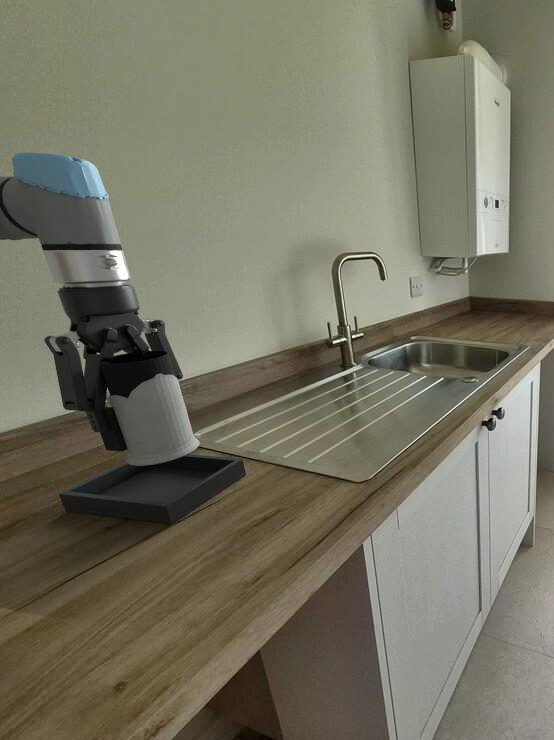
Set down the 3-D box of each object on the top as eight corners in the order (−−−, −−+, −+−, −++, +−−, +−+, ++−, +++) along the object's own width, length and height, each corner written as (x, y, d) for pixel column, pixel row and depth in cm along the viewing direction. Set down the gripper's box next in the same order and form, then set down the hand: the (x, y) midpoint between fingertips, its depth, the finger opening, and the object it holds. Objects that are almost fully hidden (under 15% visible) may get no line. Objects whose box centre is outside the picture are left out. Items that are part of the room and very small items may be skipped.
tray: (65, 511, 61) (58, 493, 60) (155, 465, 73) (150, 450, 72) (171, 524, 58) (165, 506, 57) (246, 474, 70) (242, 458, 69)
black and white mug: (153, 469, 58) (120, 367, 53) (87, 455, 62) (50, 359, 57) (213, 442, 66) (188, 351, 61) (150, 431, 70) (122, 345, 65)
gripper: (20, 292, 45) (90, 473, 52) (187, 279, 64) (221, 413, 71) (-32, 291, 46) (43, 469, 54) (147, 278, 65) (185, 411, 73)
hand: (145, 437), depth 63 cm, fingers closed on black and white mug, 7 cm apart
